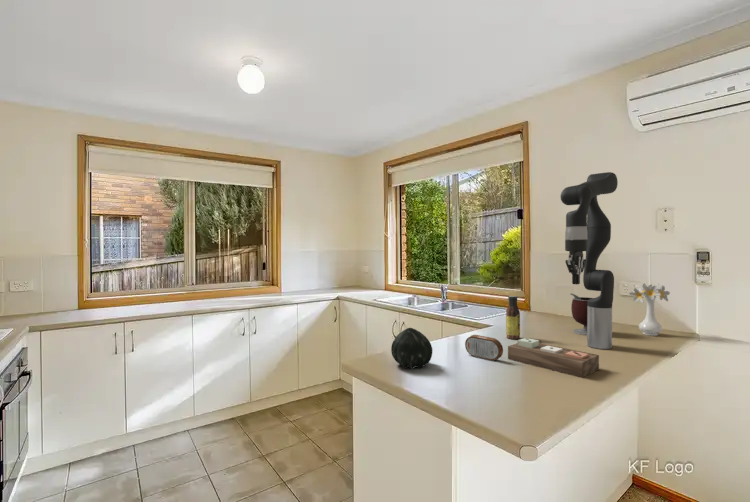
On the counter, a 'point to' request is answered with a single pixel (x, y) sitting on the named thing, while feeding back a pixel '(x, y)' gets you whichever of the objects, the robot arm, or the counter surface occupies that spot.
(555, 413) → the counter surface
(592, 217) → the robot arm
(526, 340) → the two dot button
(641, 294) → the flower vase
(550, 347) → the one dot button
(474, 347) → the tin
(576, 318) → the mate gourd
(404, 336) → the squash
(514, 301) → the sauce bottle
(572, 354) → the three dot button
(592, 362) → the console
